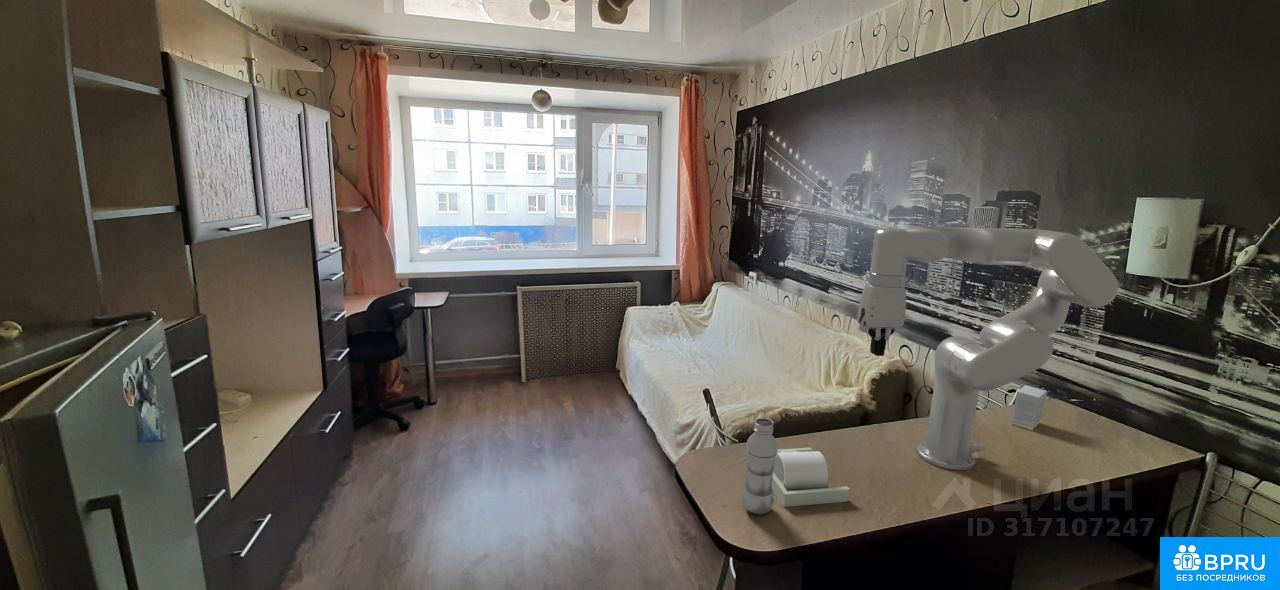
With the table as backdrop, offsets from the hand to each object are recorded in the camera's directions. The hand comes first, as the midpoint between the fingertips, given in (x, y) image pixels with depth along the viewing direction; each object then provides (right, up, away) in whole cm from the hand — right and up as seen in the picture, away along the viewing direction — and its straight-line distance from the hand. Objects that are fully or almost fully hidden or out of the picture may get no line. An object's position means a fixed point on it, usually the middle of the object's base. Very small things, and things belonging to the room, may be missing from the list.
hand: (876, 354), depth 128 cm
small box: (+55, -24, +25) cm, 65 cm away
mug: (-22, -29, -6) cm, 37 cm away
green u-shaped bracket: (-21, -29, -6) cm, 36 cm away
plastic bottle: (-33, -31, -17) cm, 49 cm away
